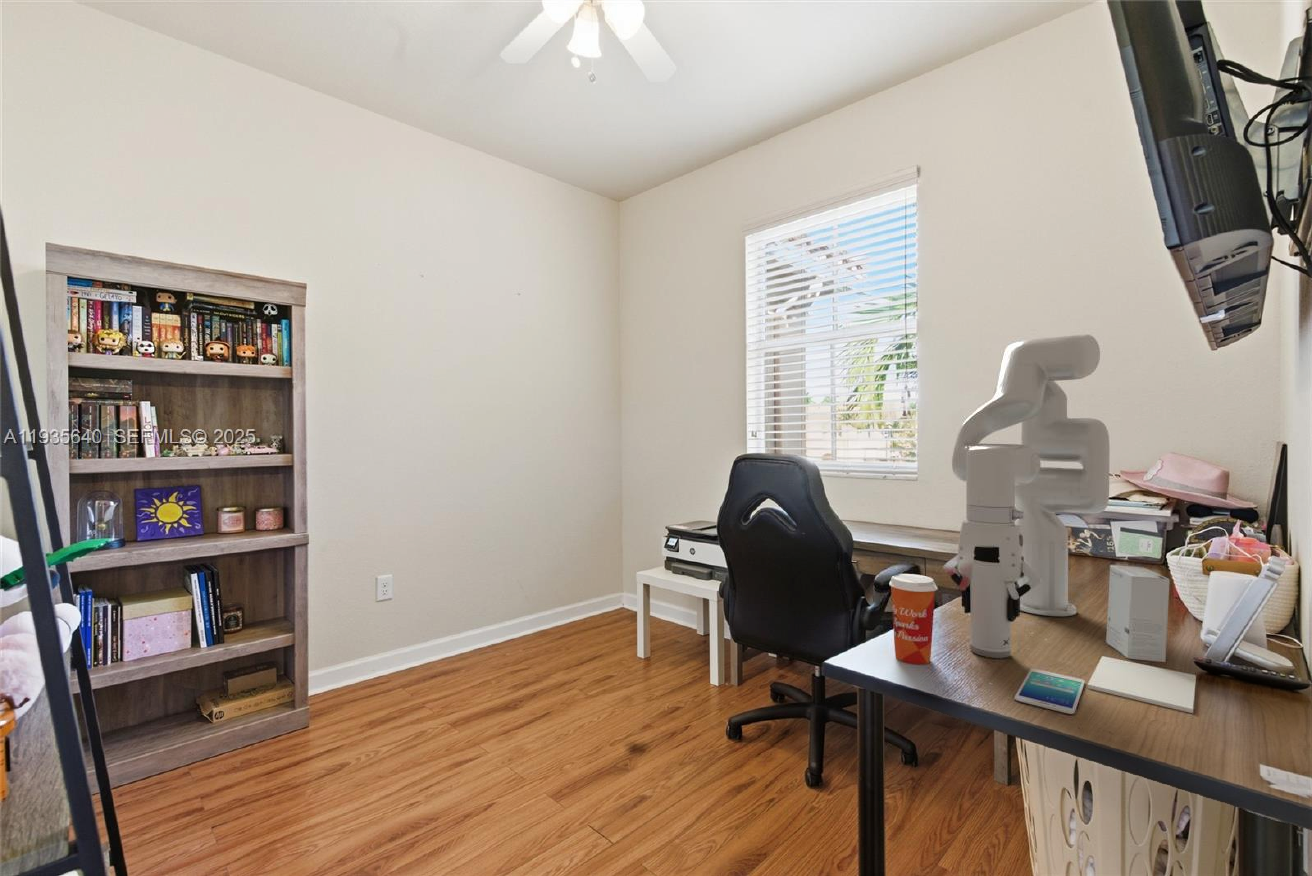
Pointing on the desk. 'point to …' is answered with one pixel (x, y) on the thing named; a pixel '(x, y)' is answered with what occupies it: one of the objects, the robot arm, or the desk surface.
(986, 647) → the travel mug
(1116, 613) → the skincare box
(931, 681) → the desk surface
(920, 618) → the paper cup
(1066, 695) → the smartphone
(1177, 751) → the desk surface
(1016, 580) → the robot arm
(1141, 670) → the off-white mat
